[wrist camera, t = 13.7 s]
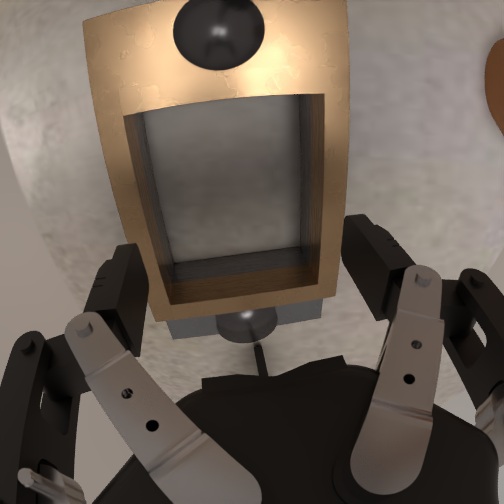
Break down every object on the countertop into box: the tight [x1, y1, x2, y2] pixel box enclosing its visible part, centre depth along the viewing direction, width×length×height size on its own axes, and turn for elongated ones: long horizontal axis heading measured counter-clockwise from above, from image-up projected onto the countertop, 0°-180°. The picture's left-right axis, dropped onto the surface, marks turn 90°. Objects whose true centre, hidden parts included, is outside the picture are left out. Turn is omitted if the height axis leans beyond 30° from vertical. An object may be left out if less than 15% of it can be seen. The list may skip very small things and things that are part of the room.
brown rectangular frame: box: [83, 0, 350, 322], centre depth 15 cm, size 16×11×5 cm, turn 4°
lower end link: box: [134, 94, 323, 343], centre depth 18 cm, size 17×11×3 cm, turn 4°
